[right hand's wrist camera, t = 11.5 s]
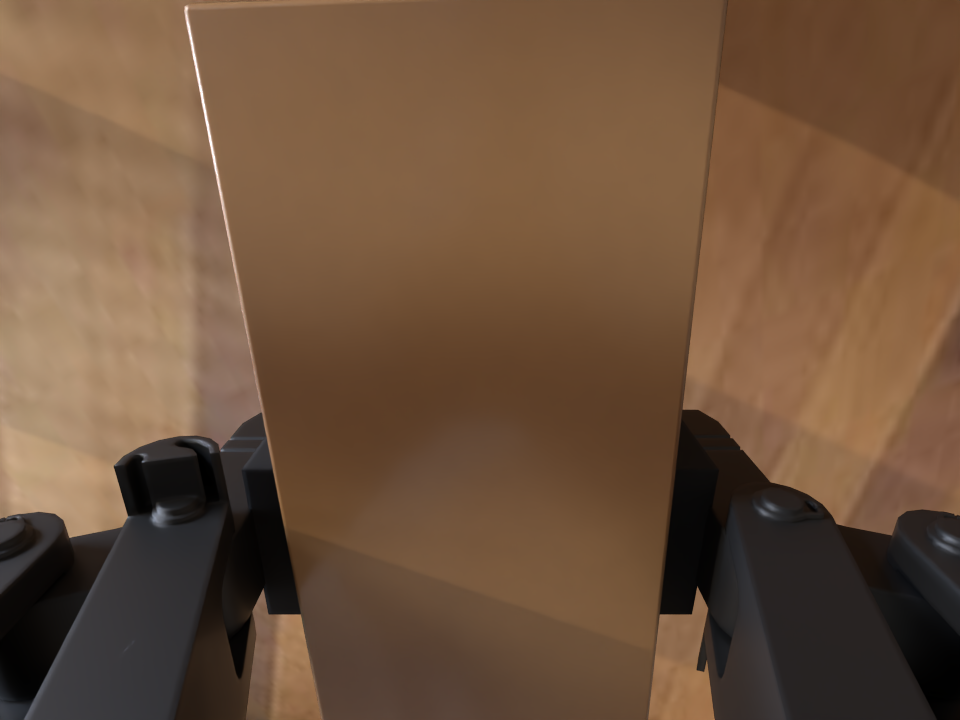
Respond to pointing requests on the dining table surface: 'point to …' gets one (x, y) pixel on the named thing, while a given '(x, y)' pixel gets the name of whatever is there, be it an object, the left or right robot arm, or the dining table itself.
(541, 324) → the post
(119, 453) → the dining table surface
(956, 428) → the dining table surface
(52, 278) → the dining table surface
